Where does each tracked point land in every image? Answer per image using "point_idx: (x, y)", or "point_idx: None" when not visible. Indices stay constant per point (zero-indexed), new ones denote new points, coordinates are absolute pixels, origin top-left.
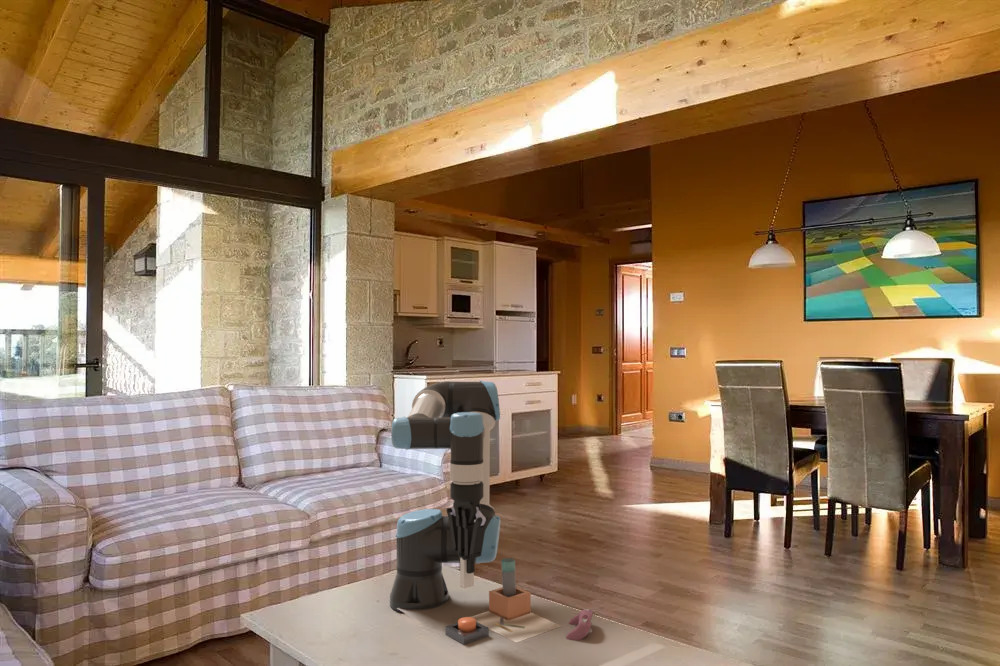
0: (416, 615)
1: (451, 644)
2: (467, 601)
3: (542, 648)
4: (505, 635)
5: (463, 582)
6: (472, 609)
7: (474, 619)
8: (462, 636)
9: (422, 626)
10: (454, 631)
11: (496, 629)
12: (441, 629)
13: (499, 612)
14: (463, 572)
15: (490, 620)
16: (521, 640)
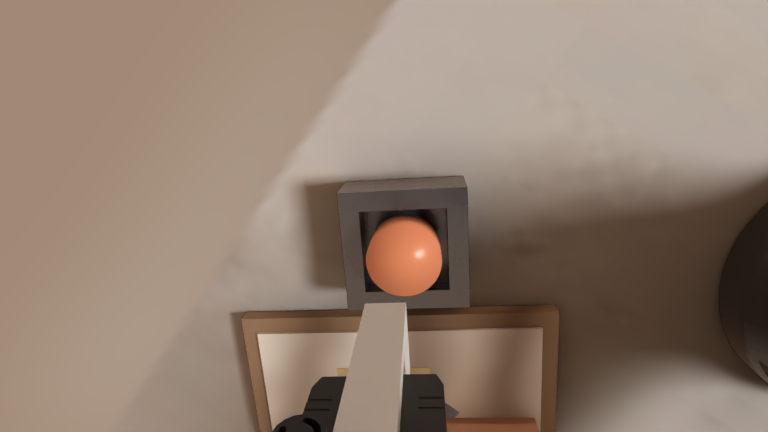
0: (750, 205)
1: (414, 172)
2: (708, 428)
3: (220, 381)
4: (323, 341)
5: (367, 320)
6: (628, 399)
7: (394, 290)
8: (346, 192)
9: (633, 167)
10: (401, 189)
11: None
12: (554, 213)
13: (473, 428)
14: (360, 359)
15: (463, 376)
16: (262, 356)
